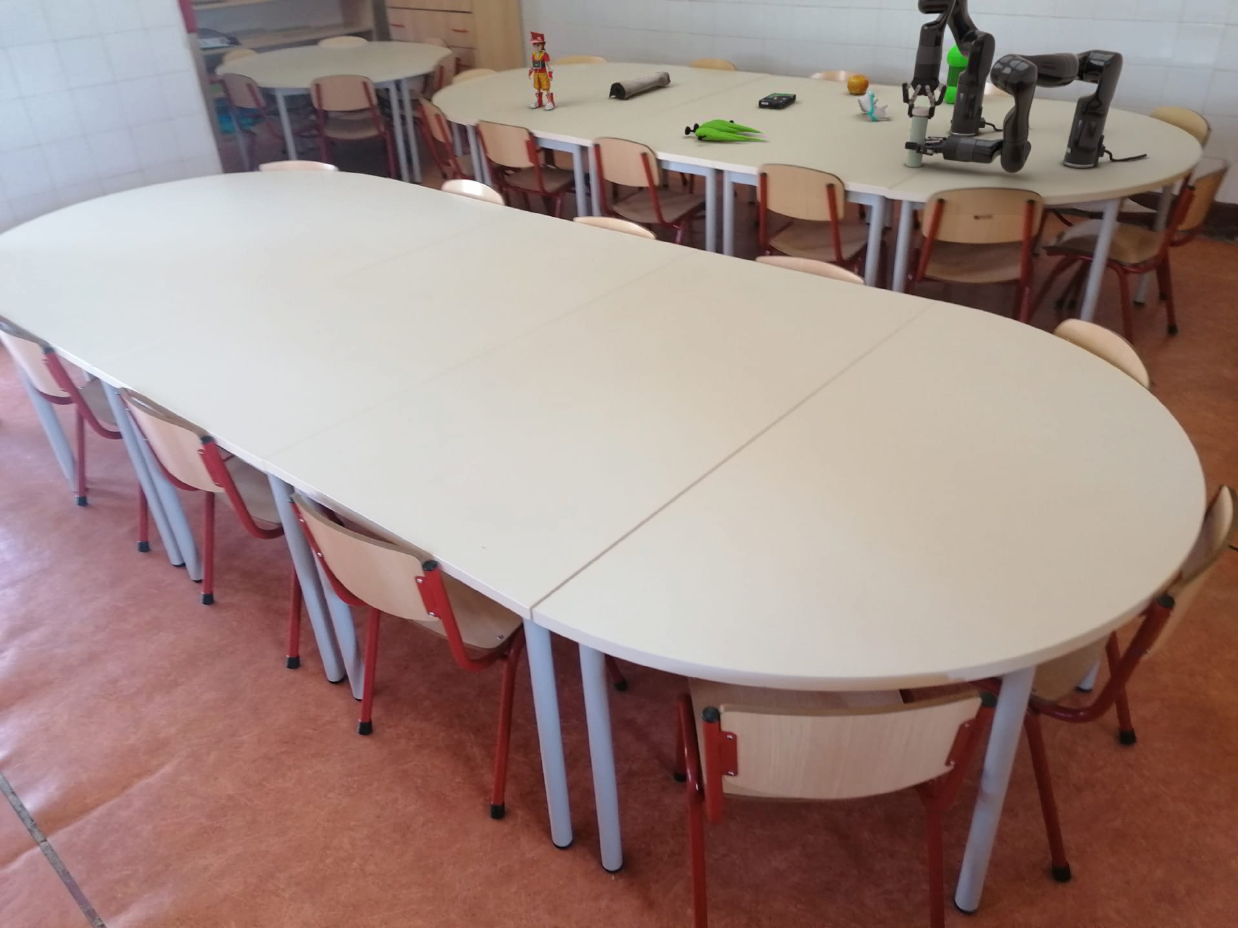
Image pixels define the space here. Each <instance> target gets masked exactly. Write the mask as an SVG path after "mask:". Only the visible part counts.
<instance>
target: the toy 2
mask: <svg viewBox="0 0 1238 928" xmlns="http://www.w3.org/2000/svg"><path fill="white" fill-rule="evenodd" d="M692 128H693V129H691V127H690V126H689V125H687V126H686V127H685V129H684V135H685V136H689V135H690V134H691V133H694V136H695V137H697V140H698V141H699V142H701V141H703V140H707V141H729V142H730V141H731V142H742V141H743V142H748V141H755V142H756V141H758V142H761V141H763V142H766V141H767V140H766V139H765V140H764V139H761V138H756V137H751V136H746V135H741V133H752V134H762V135H763V134H764V132H762V131H760V130H758V129H754V128H752V127H750V126H749V127H748V126H745V125H741V124H737V123H735V121H734V120H733V119H730V120H729V121H727V120H724V119H712V120H709V121H707V122H703V123H702V124H701V125H700V124H699V123H696V122H695V123H694V125H693V127H692Z"/></svg>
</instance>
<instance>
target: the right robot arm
mask: <svg viewBox="0 0 1238 928" xmlns="http://www.w3.org/2000/svg"><path fill="white" fill-rule="evenodd" d="M1123 66H1124V56H1123V55H1122V53H1120V52H1118V51H1111V50H1105V49H1090V50H1086V51H1082V52H1078V53H1073V52H1055V53H1043V54H1042V53H1041V54H1033V55H1029V54H1028V55H1027V54H1019V53H1008V54H1005V55H1003V56H1002V57H1000V58H998V59H997V60H996V61H995V62H994V63H993V64H992V66H991V70H990V73H989V79H990V82H991V83H992V85H993V86H994V87H995V88H997V89H998V90H1000V91H1002V92H1004V93H1006V94H1008V95H1010V96H1012V97H1013V100H1014V106H1012V107H1011V108H1010V109H1009V110H1008V111H1007V113H1006V114H1005V116H1004V118H1003V122H1002V129H1003V131H1002V138H998V139H985V138H977V137H973V136H956V135H952V134H949V135H948V136H947V137H946V136H927V137H925V143H917V142H909V141H906V142H905V143H904V149H905V150H908V149H910V150H916V153H919V154H923V156H928V157H932V156H934V155H939V154H942V159H943V160H945V161H949V162H950V161H952V162H960V163H975V164H982V165H983V164H984V165H990V164H992V163H994V161H995V160H996V159H997V158H998V157H1000V158H999V163H1000V166H1001V168H1002V169H1003V170H1004V172H1006V173H1007V174H1008V173H1009V174H1015V173H1018V172H1020V171H1021V170H1022V169H1024V167H1025V165H1026V163H1027V160H1028V158H1029V155H1030V153H1031V151H1032V144H1031V142H1030V140H1029V135H1030V114H1031V108H1032V105H1033V101H1034V97H1035V93H1036V88H1037V87H1039V88H1044V89H1056V88H1063V87H1066V86H1069V85H1071V84H1072V83H1073V82H1074V81H1077V82H1083V83H1087V84H1094V85H1097V86H1096V89H1095V91H1094V92H1092V93H1087V94H1083V95H1081V96H1079V97H1078V98H1077V101H1076V106H1075V110H1074V114H1073V119H1072V122H1071V127H1070V132H1069V135H1068V140H1067V146H1066V148H1065V153H1064V157H1063V161H1062V165H1064V166H1066V167H1069V168H1073V169H1089V168H1090V169H1091V168H1097V167H1098V164H1099V160H1100V158H1104V157H1105V154H1107V155H1108V156H1109V160H1110V161H1111V162H1113V163H1114V162H1115V163H1117V162H1118V163H1119V162H1126V161H1127V162H1128V161H1133V160H1139V159H1141V158H1142V159H1143V158H1146V157H1147V156H1148V154H1147V153H1143V154H1140V155H1136V156H1130V157H1124V158H1113V156H1114V155H1113V152H1112V151H1110V150H1108V149H1106V146H1105V144H1104V141H1105V134H1104V130H1105V126H1106V123H1107V119H1108V114H1109V112H1110V111H1109V110H1110V106H1111V103H1112V101H1113V99H1114V96H1115V93H1116V90H1117V87H1118V83H1119V80H1120V77H1121V74H1122V71H1123ZM921 147H922V148H923V149H921Z"/></svg>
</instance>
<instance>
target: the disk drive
mask: <svg viewBox="0 0 1238 928" xmlns="http://www.w3.org/2000/svg"><path fill="white" fill-rule="evenodd" d="M796 100H797V94H796V93H781V92H780V93H779V92H772V93H770V94H769V95H767V96H764V97H763V98H761V99H759V100H758V107H759V108H765V109H766V108H767V109H778V110H779V109H780V110H781V109H784V108H786V107H788V106H789V105H791V104H793V103H794V102H796Z"/></svg>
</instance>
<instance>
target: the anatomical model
mask: <svg viewBox="0 0 1238 928" xmlns="http://www.w3.org/2000/svg"><path fill="white" fill-rule="evenodd" d="M875 98H876V95H875V93H874V92H872V91H871V90H869V89H867V90H866V93H865V94H864V95H861V96H858V98H857V102H858V104H859V107H860V110H861V112H863V113H867V114H868V116H869V118H870V119H871V121H873V122H876V121H877V122H878V121H879V120H890V119H891V118H892V115H891V114H887V113H885V111H886V109H887V108H888V104H885V105H882V106H877V105H876V104H877V103H878V101H879V98H876V99H875Z"/></svg>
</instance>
